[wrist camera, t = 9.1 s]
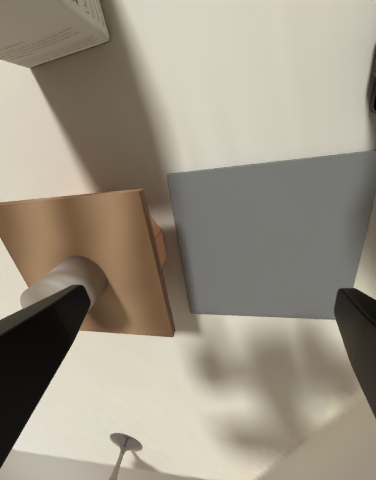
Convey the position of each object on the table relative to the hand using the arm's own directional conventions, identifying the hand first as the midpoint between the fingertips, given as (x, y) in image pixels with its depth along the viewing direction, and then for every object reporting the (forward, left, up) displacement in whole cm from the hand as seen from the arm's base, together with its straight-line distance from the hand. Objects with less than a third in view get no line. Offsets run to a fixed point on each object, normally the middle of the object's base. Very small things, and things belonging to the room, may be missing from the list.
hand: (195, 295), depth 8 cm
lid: (+11, +4, -8) cm, 14 cm away
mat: (-4, +5, -12) cm, 13 cm away
